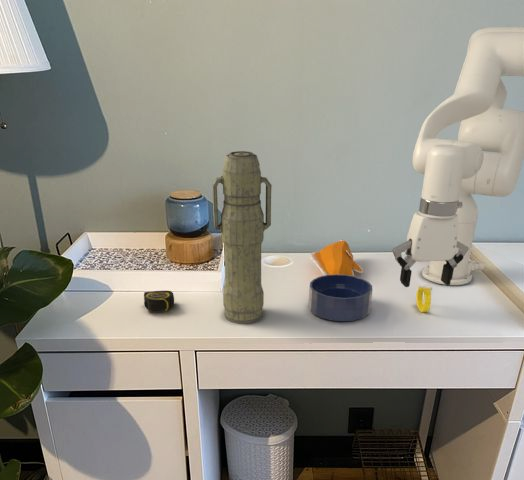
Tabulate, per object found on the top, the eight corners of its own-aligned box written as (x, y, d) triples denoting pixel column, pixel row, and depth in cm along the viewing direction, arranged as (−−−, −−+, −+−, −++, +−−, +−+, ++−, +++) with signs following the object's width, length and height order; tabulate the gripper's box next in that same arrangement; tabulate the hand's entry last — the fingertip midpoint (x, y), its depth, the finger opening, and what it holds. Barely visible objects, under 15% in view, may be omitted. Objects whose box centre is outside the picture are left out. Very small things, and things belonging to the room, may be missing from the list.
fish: (366, 240, 153) (314, 224, 152) (372, 292, 132) (312, 274, 130) (357, 261, 157) (306, 245, 156) (361, 314, 136) (303, 297, 134)
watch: (412, 304, 131) (415, 280, 128) (423, 304, 131) (427, 280, 128) (419, 315, 126) (423, 291, 123) (431, 315, 126) (435, 290, 123)
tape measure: (174, 302, 132) (173, 287, 130) (175, 314, 126) (174, 299, 124) (144, 304, 131) (143, 289, 129) (144, 316, 125) (143, 301, 123)
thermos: (274, 321, 123) (276, 156, 106) (221, 326, 121) (215, 158, 104) (265, 304, 131) (266, 148, 113) (215, 309, 128) (208, 150, 111)
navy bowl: (358, 295, 135) (360, 272, 132) (378, 321, 123) (381, 296, 120) (302, 299, 133) (303, 276, 130) (317, 325, 121) (319, 300, 118)
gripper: (466, 202, 122) (452, 276, 130) (392, 204, 119) (382, 279, 127) (484, 211, 115) (468, 288, 123) (406, 213, 112) (395, 292, 120)
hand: (425, 284), depth 125 cm, fingers open, 9 cm apart
